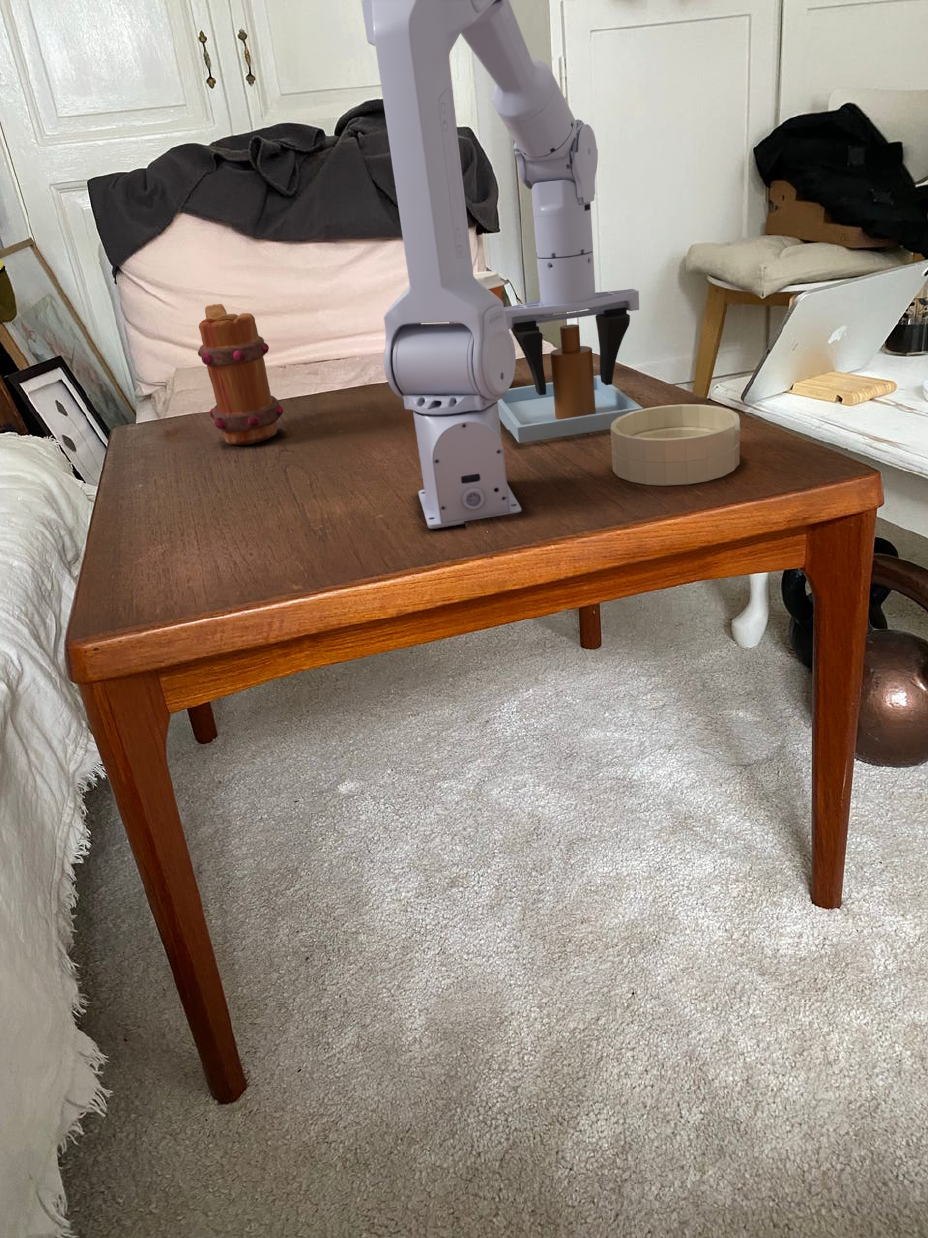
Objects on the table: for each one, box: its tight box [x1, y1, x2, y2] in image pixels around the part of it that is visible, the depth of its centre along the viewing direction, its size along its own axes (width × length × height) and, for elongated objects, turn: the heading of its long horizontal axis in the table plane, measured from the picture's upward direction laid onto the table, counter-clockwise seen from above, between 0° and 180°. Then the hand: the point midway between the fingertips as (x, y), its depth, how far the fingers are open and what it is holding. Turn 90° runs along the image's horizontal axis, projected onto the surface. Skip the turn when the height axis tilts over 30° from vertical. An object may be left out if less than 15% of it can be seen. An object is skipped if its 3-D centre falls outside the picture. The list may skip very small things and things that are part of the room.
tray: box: [498, 374, 644, 444], centre depth 105 cm, size 17×13×2 cm
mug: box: [197, 303, 284, 446], centre depth 112 cm, size 15×8×15 cm, turn 22°
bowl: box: [610, 403, 741, 487], centre depth 84 cm, size 11×11×4 cm
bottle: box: [549, 323, 596, 420], centre depth 101 cm, size 4×4×10 cm
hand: (573, 388), depth 102 cm, fingers open, 7 cm apart
